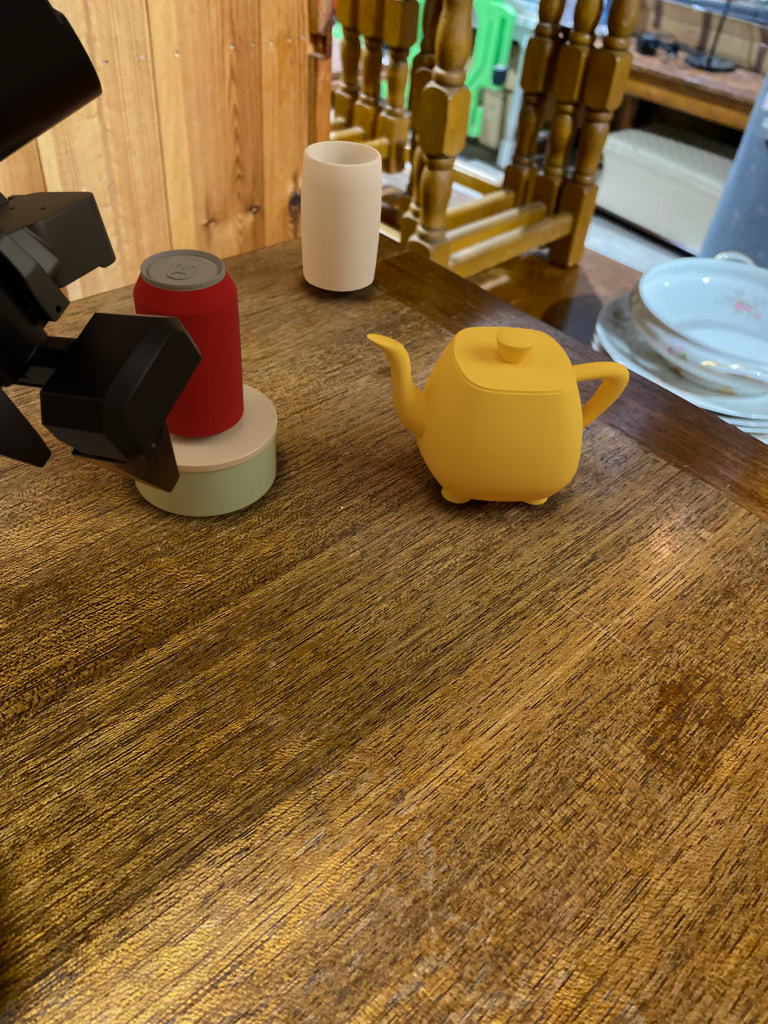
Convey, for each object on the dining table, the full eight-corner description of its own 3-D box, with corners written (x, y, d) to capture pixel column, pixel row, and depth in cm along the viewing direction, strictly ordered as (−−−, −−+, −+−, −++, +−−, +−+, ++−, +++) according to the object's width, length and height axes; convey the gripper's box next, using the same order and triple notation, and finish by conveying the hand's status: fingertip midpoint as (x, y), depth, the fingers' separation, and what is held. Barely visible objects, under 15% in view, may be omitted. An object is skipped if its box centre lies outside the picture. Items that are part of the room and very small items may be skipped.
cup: (329, 310, 83) (333, 172, 74) (285, 279, 88) (283, 146, 78) (391, 291, 87) (402, 159, 78) (346, 263, 92) (351, 135, 82)
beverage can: (255, 401, 61) (248, 252, 53) (229, 452, 56) (217, 296, 48) (171, 388, 61) (152, 239, 53) (138, 438, 56) (111, 281, 48)
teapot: (357, 418, 68) (364, 286, 60) (579, 425, 70) (616, 297, 62) (360, 522, 58) (370, 380, 50) (619, 527, 60) (670, 391, 52)
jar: (104, 500, 58) (92, 447, 55) (170, 417, 67) (163, 366, 63) (249, 532, 57) (245, 479, 54) (297, 443, 65) (297, 392, 62)
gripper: (166, 97, 29) (312, 374, 42) (-141, 119, 37) (60, 348, 50) (1, 312, 25) (221, 552, 37) (-312, 286, 32) (-42, 492, 45)
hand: (106, 472), depth 42 cm, fingers open, 9 cm apart
